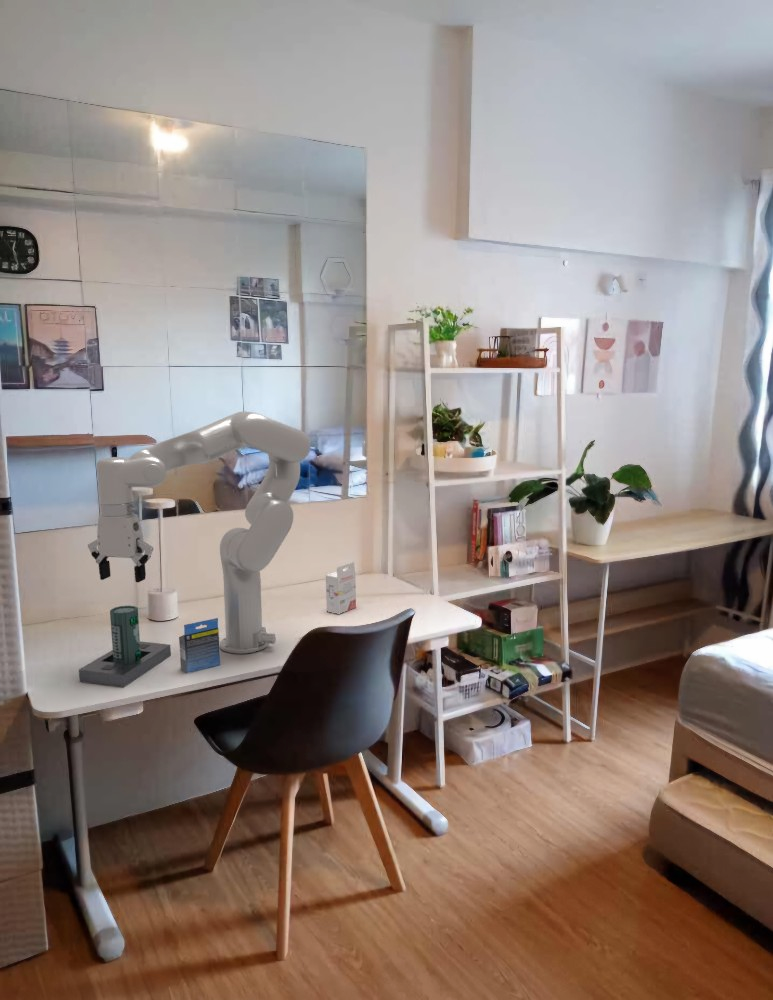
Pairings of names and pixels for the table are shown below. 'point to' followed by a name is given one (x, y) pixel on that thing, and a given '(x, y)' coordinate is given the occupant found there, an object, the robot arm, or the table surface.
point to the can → (125, 634)
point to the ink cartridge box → (341, 589)
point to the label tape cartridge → (199, 646)
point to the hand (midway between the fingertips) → (122, 579)
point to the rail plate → (124, 666)
